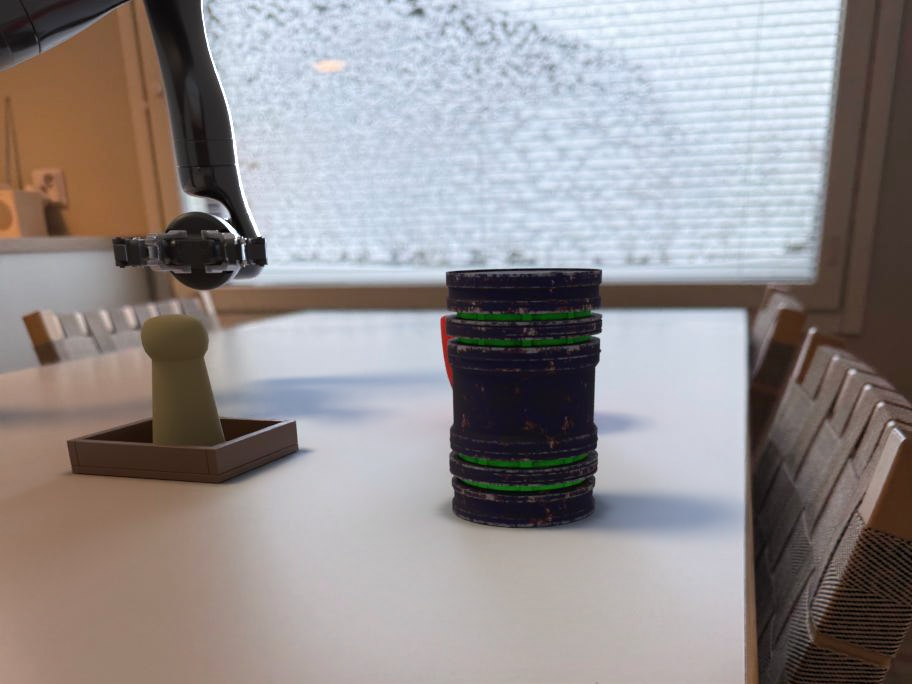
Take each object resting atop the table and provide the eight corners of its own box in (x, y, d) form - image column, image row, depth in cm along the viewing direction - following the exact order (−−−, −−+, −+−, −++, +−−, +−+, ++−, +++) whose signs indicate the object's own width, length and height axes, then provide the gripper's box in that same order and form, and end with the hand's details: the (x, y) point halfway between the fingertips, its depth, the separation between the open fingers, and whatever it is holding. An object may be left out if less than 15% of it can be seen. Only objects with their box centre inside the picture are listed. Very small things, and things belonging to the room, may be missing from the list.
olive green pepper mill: (138, 459, 78) (116, 317, 73) (176, 445, 83) (158, 312, 79) (205, 462, 76) (187, 317, 72) (240, 447, 82) (225, 312, 78)
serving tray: (72, 473, 76) (66, 440, 75) (166, 442, 87) (162, 413, 86) (219, 483, 72) (214, 449, 71) (299, 450, 83) (296, 420, 82)
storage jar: (421, 506, 65) (411, 272, 59) (526, 482, 71) (527, 267, 65) (518, 537, 58) (518, 275, 52) (627, 508, 64) (638, 269, 58)
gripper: (130, 212, 99) (95, 207, 84) (269, 212, 101) (259, 207, 86) (140, 289, 102) (108, 297, 87) (276, 287, 104) (267, 295, 89)
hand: (184, 252), depth 87 cm, fingers open, 8 cm apart
